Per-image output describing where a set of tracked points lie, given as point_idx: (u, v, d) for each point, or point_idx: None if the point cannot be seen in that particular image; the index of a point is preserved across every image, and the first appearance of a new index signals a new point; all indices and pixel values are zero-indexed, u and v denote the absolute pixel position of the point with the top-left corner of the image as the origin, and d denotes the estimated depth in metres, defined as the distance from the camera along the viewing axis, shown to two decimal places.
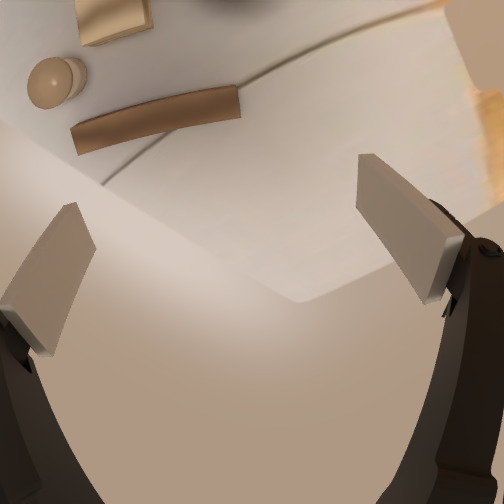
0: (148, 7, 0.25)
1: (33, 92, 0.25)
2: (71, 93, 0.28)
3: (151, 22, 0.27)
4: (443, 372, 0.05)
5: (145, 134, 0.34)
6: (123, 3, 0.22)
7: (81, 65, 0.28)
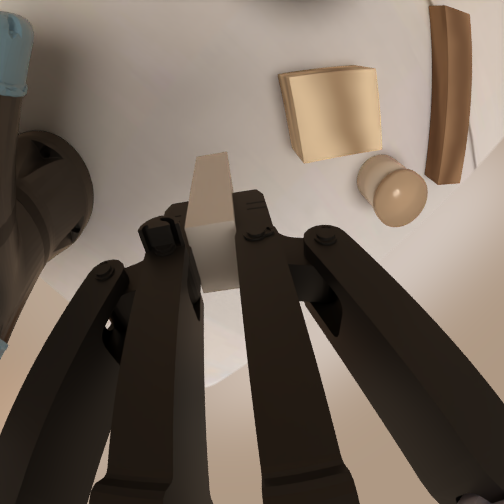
0: (332, 68, 0.24)
1: (401, 219, 0.30)
2: None
3: (351, 66, 0.24)
4: None
5: (469, 107, 0.25)
6: (343, 94, 0.22)
7: (376, 158, 0.31)
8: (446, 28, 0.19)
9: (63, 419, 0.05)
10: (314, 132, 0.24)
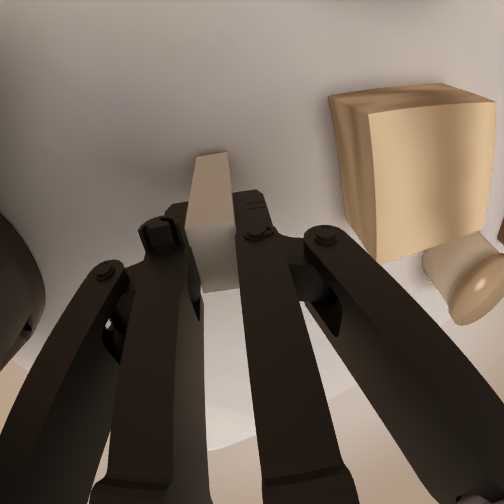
0: (420, 89, 0.13)
1: (476, 315, 0.19)
2: None
3: (444, 86, 0.13)
4: None
5: None
6: (451, 147, 0.11)
7: None
8: None
9: (63, 419, 0.05)
10: (399, 216, 0.13)
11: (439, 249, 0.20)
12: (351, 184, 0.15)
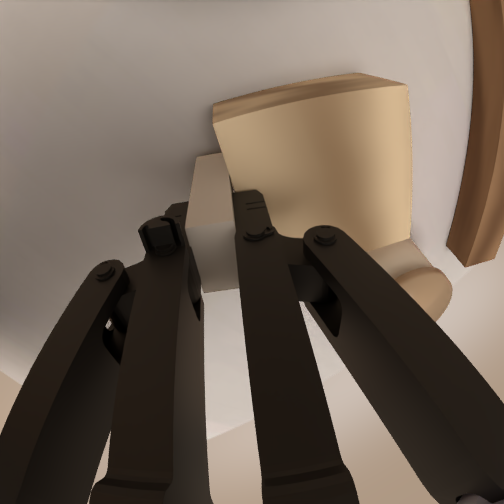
0: (318, 82, 0.12)
1: None
2: None
3: (355, 75, 0.13)
4: None
5: None
6: (338, 146, 0.11)
7: None
8: (501, 14, 0.08)
9: (63, 419, 0.05)
10: (279, 229, 0.13)
11: None
12: None
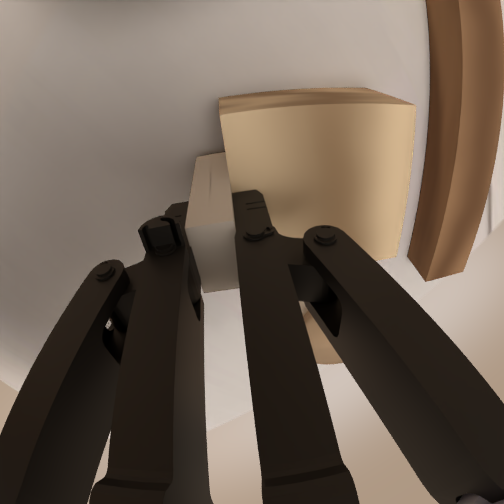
0: (326, 91, 0.13)
1: None
2: None
3: (364, 90, 0.13)
4: None
5: (495, 150, 0.13)
6: (340, 155, 0.11)
7: None
8: None
9: (63, 419, 0.05)
10: None
11: None
12: None
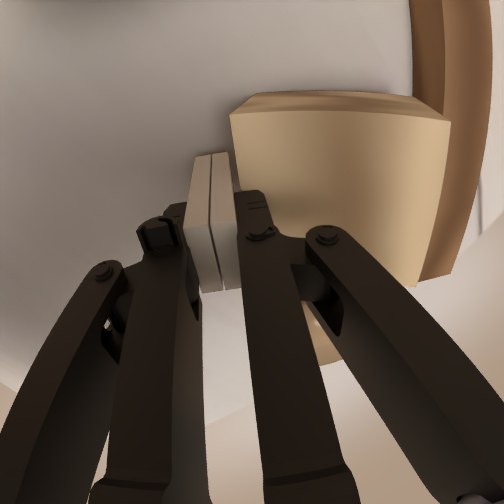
0: (363, 96, 0.11)
1: (327, 357, 0.18)
2: None
3: (407, 99, 0.11)
4: None
5: (482, 147, 0.13)
6: (356, 168, 0.10)
7: None
8: None
9: (62, 419, 0.05)
10: None
11: None
12: None
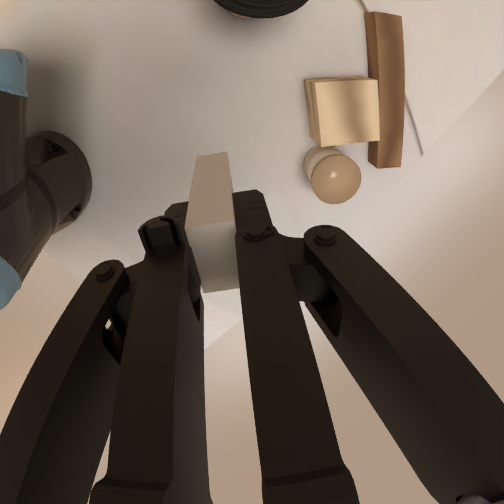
0: (345, 77, 0.32)
1: (338, 197, 0.37)
2: None
3: (359, 76, 0.32)
4: None
5: (403, 99, 0.32)
6: (352, 97, 0.30)
7: (318, 148, 0.38)
8: (376, 31, 0.27)
9: (63, 419, 0.05)
10: (330, 124, 0.32)
11: (307, 159, 0.39)
12: (311, 115, 0.35)
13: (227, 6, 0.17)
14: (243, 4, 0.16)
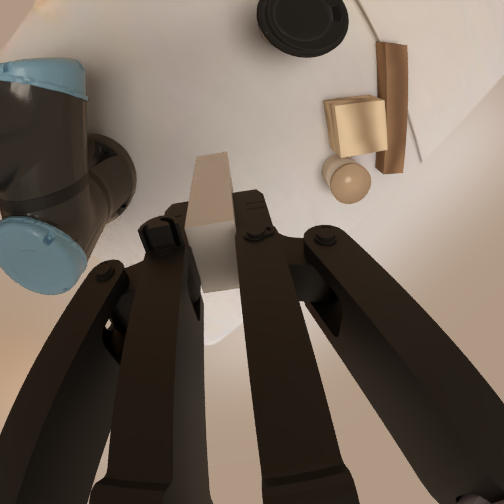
0: (357, 97, 0.39)
1: (352, 198, 0.45)
2: None
3: (369, 96, 0.39)
4: None
5: (406, 116, 0.39)
6: (364, 116, 0.38)
7: (334, 156, 0.45)
8: (385, 59, 0.34)
9: (63, 419, 0.05)
10: (347, 139, 0.40)
11: (326, 166, 0.46)
12: (331, 131, 0.42)
13: (279, 46, 0.24)
14: (292, 47, 0.24)
